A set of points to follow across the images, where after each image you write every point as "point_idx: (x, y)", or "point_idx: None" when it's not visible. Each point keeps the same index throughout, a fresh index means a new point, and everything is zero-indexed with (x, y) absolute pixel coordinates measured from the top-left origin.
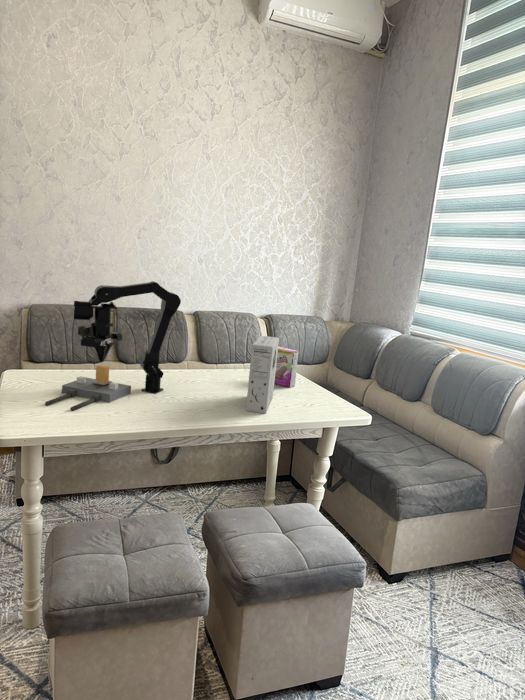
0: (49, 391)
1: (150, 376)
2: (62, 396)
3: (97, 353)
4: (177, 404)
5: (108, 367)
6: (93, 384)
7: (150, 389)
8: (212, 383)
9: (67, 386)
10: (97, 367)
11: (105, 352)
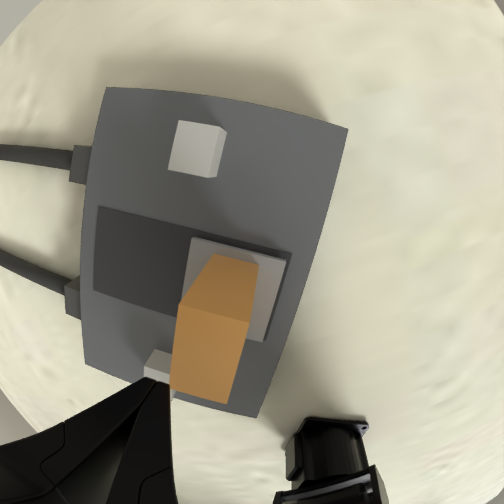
0: (139, 36)
1: (276, 498)
2: (38, 160)
3: (64, 425)
4: (201, 487)
5: (217, 396)
6: (183, 247)
7: (286, 452)
8: (422, 491)
9: (98, 123)
10: (179, 313)
11: (101, 502)
